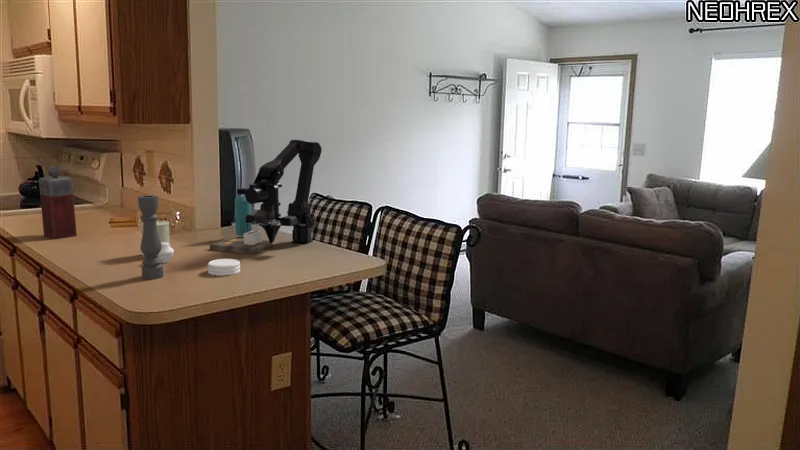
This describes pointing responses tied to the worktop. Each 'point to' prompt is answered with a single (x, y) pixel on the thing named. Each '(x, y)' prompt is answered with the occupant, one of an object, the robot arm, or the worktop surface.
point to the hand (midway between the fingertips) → (271, 242)
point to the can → (161, 231)
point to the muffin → (166, 252)
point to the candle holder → (150, 238)
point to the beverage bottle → (242, 213)
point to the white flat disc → (223, 267)
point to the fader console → (239, 246)
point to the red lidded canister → (57, 205)
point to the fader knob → (252, 237)
